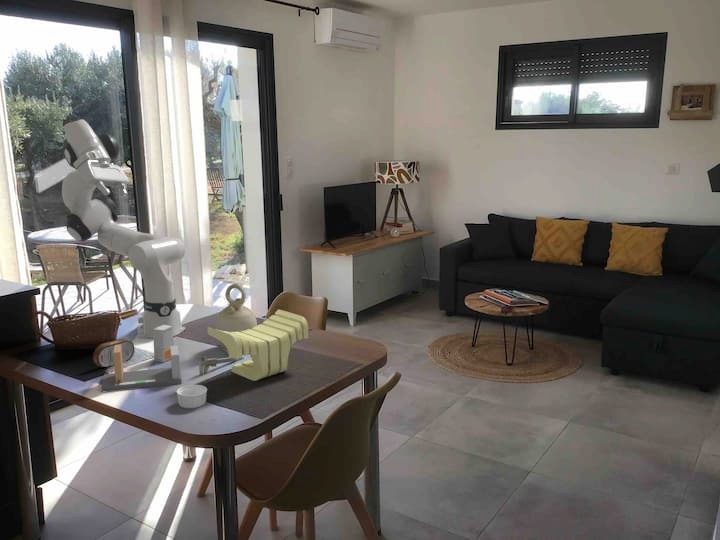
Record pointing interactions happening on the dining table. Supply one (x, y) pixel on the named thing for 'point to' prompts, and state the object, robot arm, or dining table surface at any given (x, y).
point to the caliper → (213, 363)
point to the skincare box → (162, 342)
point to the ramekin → (192, 396)
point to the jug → (235, 315)
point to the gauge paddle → (118, 363)
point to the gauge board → (146, 376)
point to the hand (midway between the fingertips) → (116, 194)
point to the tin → (105, 352)
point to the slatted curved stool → (264, 344)
